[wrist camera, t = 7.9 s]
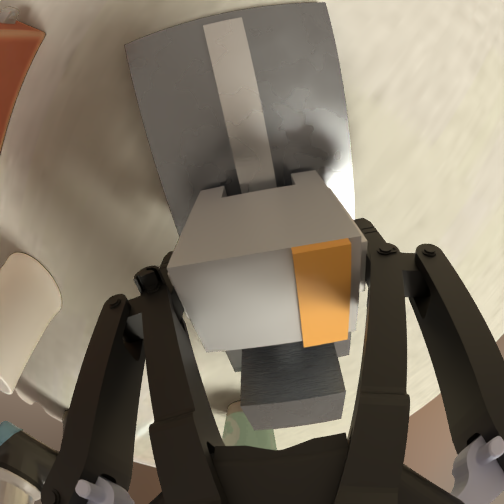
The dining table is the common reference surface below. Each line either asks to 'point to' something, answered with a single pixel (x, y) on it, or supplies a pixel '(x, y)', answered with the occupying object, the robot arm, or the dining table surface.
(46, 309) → the mug
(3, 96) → the control panel
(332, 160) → the rail board
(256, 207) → the module
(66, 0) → the dining table surface
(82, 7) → the dining table surface
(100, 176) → the dining table surface
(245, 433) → the coffee cup
